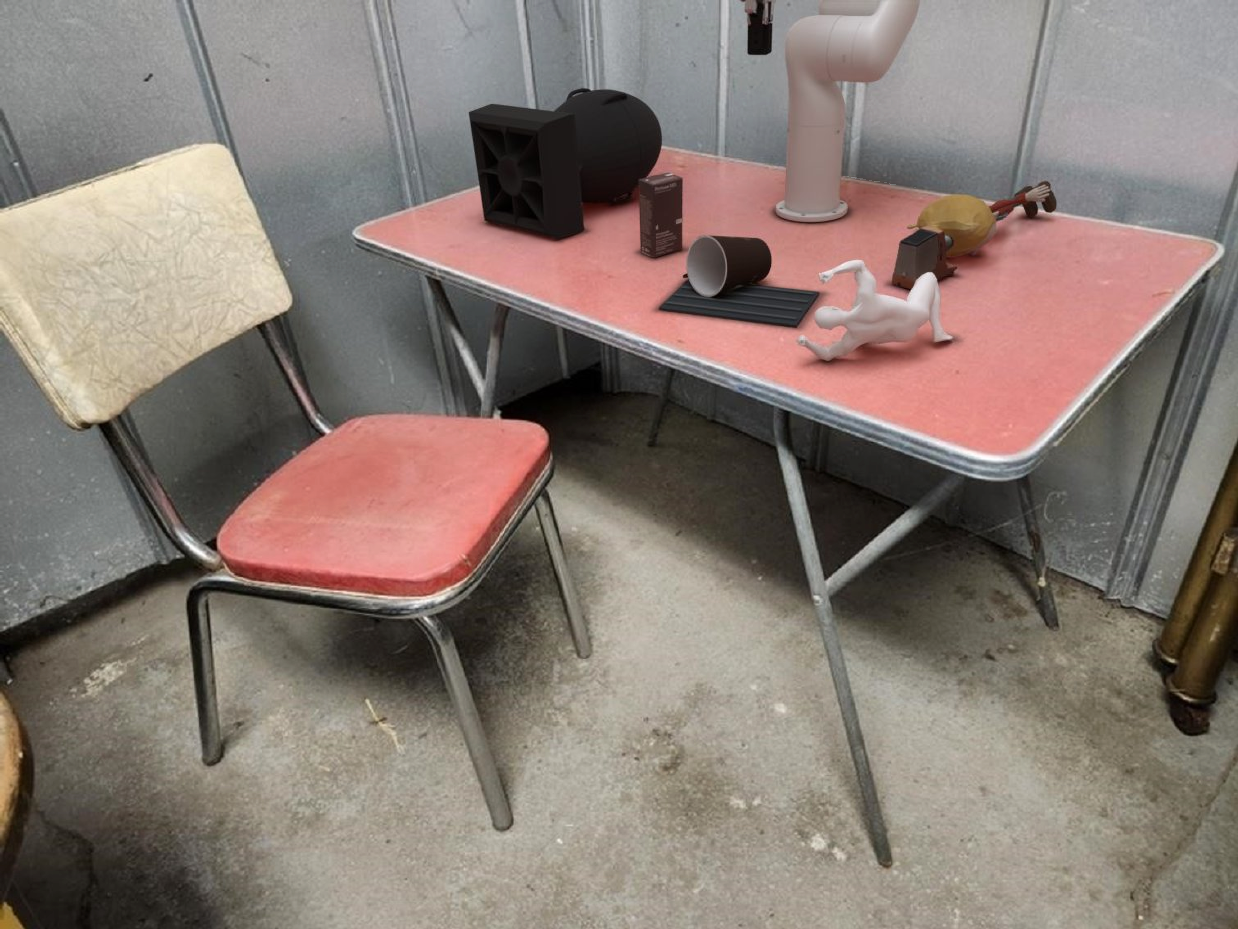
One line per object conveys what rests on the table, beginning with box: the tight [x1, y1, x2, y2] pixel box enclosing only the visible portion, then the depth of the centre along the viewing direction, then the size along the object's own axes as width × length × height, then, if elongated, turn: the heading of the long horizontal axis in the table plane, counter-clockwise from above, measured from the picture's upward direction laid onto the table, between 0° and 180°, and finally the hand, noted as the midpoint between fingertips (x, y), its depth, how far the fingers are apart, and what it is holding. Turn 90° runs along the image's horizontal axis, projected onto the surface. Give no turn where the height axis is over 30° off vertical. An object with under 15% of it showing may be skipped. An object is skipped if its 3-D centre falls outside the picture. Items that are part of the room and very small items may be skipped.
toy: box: [906, 180, 1058, 258], centre depth 137 cm, size 22×10×30 cm
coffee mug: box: [682, 234, 773, 297], centre depth 128 cm, size 12×9×10 cm
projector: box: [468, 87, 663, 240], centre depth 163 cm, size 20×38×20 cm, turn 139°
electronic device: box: [891, 226, 958, 291], centre depth 125 cm, size 4×10×8 cm, turn 126°
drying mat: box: [658, 278, 820, 328], centre depth 125 cm, size 12×20×1 cm, turn 65°
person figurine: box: [796, 259, 954, 362], centre depth 106 cm, size 13×13×18 cm
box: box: [638, 172, 684, 258], centre depth 141 cm, size 6×4×12 cm
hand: (759, 53), depth 128 cm, fingers closed
